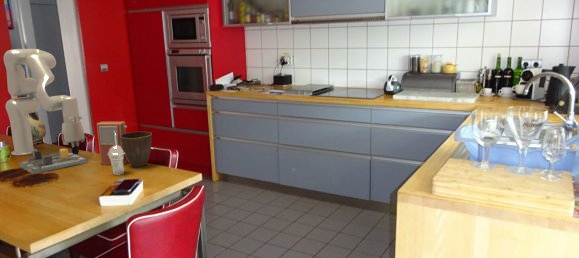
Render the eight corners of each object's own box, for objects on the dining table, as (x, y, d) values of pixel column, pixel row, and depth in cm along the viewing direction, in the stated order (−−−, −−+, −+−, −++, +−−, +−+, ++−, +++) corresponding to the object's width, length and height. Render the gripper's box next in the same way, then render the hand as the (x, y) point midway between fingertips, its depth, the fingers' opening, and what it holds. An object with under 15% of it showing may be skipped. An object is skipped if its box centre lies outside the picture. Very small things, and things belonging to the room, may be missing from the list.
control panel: (104, 161, 231) (131, 161, 229) (97, 164, 224) (125, 165, 223) (100, 121, 227) (128, 121, 225) (93, 123, 220) (121, 123, 218)
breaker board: (19, 166, 224) (17, 153, 222) (71, 156, 242) (70, 143, 241) (33, 174, 209) (31, 160, 208) (88, 162, 228) (86, 150, 226)
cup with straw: (106, 176, 205) (101, 134, 201) (114, 170, 214) (110, 130, 210) (123, 176, 204) (119, 134, 200) (131, 170, 213) (127, 130, 209)
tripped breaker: (58, 158, 229) (57, 149, 228) (68, 156, 232) (67, 148, 232) (61, 160, 226) (59, 151, 225) (71, 158, 230) (70, 149, 229)
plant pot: (144, 170, 213) (142, 138, 210) (117, 169, 216) (114, 137, 213) (159, 162, 227) (157, 132, 224) (133, 160, 230) (130, 131, 227)
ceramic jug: (13, 145, 270) (6, 97, 264) (34, 140, 284) (27, 94, 278) (34, 147, 265) (28, 98, 259) (55, 141, 279) (49, 94, 273)
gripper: (83, 117, 237) (86, 150, 241) (53, 121, 227) (58, 155, 230) (88, 118, 232) (92, 152, 236) (59, 122, 222) (63, 157, 225)
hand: (75, 153), depth 233 cm, fingers closed
